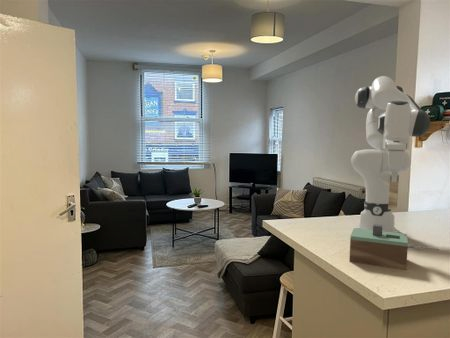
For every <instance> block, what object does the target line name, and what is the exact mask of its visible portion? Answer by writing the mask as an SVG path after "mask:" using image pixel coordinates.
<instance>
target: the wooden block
mask: <svg viewBox="0 0 450 338" xmlns="http://www.w3.org/2000/svg"><path fill="white" fill-rule="evenodd" d="M399 178H400V174H398V175H397V182H392V181H391V180H392V174H391V173H389V183H388V184H389V202H388V209H391V211H397V210H398V198H399V197H398V196H399V195H398V194H399Z"/></svg>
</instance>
